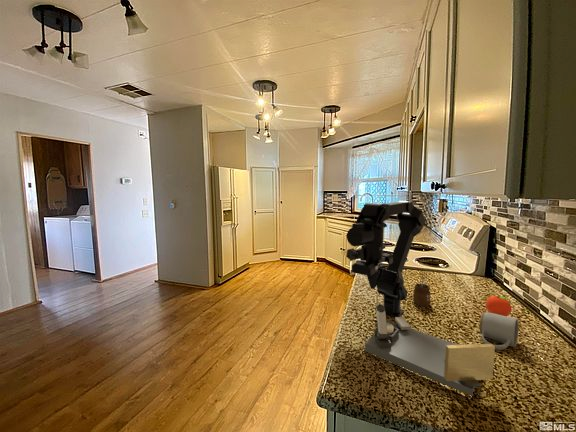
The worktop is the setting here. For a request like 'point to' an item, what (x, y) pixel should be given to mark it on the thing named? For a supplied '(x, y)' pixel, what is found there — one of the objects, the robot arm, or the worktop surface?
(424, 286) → the utensil holder
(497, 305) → the red tomato
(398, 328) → the panel
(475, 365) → the brass paddle
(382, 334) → the steel lever
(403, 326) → the block
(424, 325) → the worktop surface
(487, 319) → the ceramic mug
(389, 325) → the push button
